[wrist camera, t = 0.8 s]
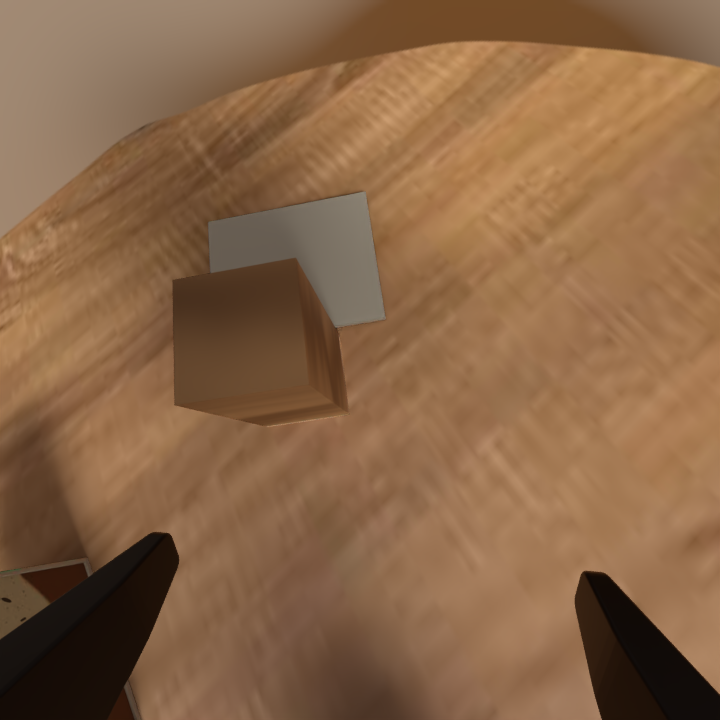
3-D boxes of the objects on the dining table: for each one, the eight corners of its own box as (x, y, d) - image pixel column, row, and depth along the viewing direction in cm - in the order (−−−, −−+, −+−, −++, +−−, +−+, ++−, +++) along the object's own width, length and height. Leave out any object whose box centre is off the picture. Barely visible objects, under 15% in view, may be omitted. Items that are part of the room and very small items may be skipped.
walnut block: (349, 414, 24) (308, 384, 14) (267, 426, 24) (174, 405, 15) (339, 335, 25) (295, 257, 15) (262, 347, 26) (172, 280, 16)
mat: (385, 319, 25) (385, 317, 25) (216, 347, 26) (213, 346, 25) (365, 195, 27) (365, 191, 27) (210, 225, 28) (207, 221, 28)
